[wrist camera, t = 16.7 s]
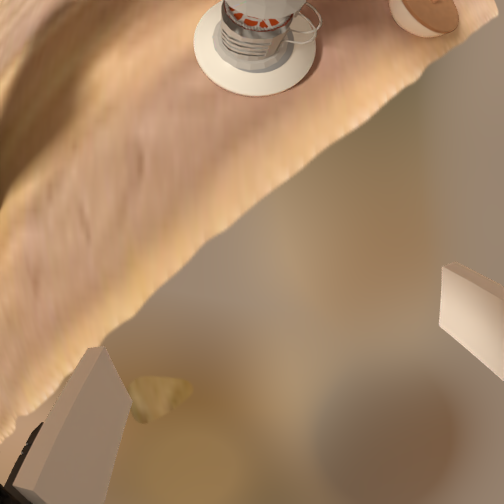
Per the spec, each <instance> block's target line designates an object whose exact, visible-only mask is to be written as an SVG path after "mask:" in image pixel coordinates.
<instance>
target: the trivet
mask: <svg viewBox="0 0 504 504" xmlns="http://www.w3.org/2000/svg"><path fill="white" fill-rule="evenodd" d="M223 1H224V0H222V1H220V2H218V3H217V4H215V5H214V6H212V7H211V8H210V9H209V10H208V11H207V12H206V13H205V14H204V15H203V17H202V18H201V19H200V21H199V23H198V25H197V27H196V30H195V34H194V51H195V55H196V59H197V62H198V64H199V66H200V68H201V69H202V71H203V72H204V74H205V75H206V76H207V77H208V78H209V79H210V80H211V81H212V82H213V83H214V84H216V85H217V86H219V87H220V88H222V89H224V90H226V91H228V92H231V93H234V94H237V95H241V96H247V97H267V96H272V95H276V94H279V93H282V92H284V91H286V90H288V89H290V88H291V87H293V86H294V85H296V84H297V83H298V82H299V81H300V80H301V79H302V78H303V77H304V76H305V75H306V74H307V72H308V71H309V69H310V68H311V66H312V63H313V61H314V58H315V53H316V41H315V39H314V40H313V41H312V42H310V43H306V44H295V43H291V42H288V44H287V49H286V52H285V54H284V55H283V56H282V57H281V58H280V60H279V61H278V62H277V63H275V64H273V65H271V66H269V67H267V68H264V69H257V70H246V69H241V68H236V67H234V66H232V65H231V64H229V63H227V62H225V61H224V60H222V58H221V57H220V56H219V54H218V53H217V52H216V50H215V48H214V43H213V38H212V36H213V33H214V30H215V26H216V25H217V23H218V22H219V21H220V20H221V6H222V3H223ZM295 13H296V12H295ZM295 13H294V15H295ZM299 13H300V12H299ZM300 14H301V13H300ZM288 29H292V30H296V31H302V32H308V31H312V28H311V26H310V24H309V22H308V21H307V20H306V19H304V18H303V17H302V16H300V15H298V16H297V17H296V18H294V16H293V20H292V22H291V24H290V26H289V28H288ZM287 36H288V40H291V41H296V42H305V41H309V40H310V39H311V38H312V37H313V36H314V33H308V34H306V33H297V32H292V31H289V32H288V33H287Z"/></svg>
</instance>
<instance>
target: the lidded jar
mask: <svg viewBox="0 0 504 504" xmlns="http://www.w3.org/2000/svg"><path fill="white" fill-rule="evenodd" d="M389 8H390V11H391V14H392V17H393V19H394V20H395V22H396V23H397V24H398V25H399V26H400V27H401V28H402V29H404V30H405V31H408V32H409V33H411V34H413V35H416V36H419V37H425V38H430V37H437V36H440V35H443V34H446V33H450V32H452V31H454V30H455V29H456V28H457V26H458V21H459V17H458V11H457V9H456V6H455V4H454V2H453V0H389Z"/></svg>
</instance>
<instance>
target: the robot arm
mask: <svg viewBox="0 0 504 504" xmlns="http://www.w3.org/2000/svg"><path fill="white" fill-rule="evenodd" d="M441 286H442V287H441V305H440V318H439V326H440V327H441V328H442V329H444V330H445V331H446V332H447V333H449V334H450V335H451V336H452V337H453V338H455V339H456V340H457V341H458V342H459V343H460V344H462V345H463V346H464V347H465V348H466V349H467V350H469V351H470V352H471V353H472V354H473V355H474V356H475V357H477V358H478V359H479V360H480V361H481V362H482V363H483V364H485V365H486V366H487V367H488V368H489V369H490V370H491V371H493V372H494V373H495V374H496V375H497V376H498V377H499V378H500V379H501V380H503V381H504V286H502V285H500V284H498V283H496V282H495V281H493V280H491V279H489V278H487V277H485V276H483V275H481V274H479V273H477V272H475V271H473V270H471V269H469V268H467V267H465V266H463V265H461V264H459V263H457V262H453V263H450V264H447V265H444V266H442V285H441ZM131 404H132V400H131V398H130V396H129V394H128V392H127V390H126V388H125V387H124V385H123V383H122V381H121V379H120V377H119V375H118V373H117V371H116V369H115V367H114V365H113V363H112V361H111V359H110V357H109V354H108V352H107V350H106V348H105V346H100V347H93V348H88V349H87V351H86V352H85V354H84V355H83V357H82V358H81V360H80V362H79V363H78V365H77V367H76V368H75V370H74V371H73V373H72V375H71V376H70V378H69V380H68V381H67V383H66V385H65V386H64V388H63V390H62V392H61V393H60V395H59V397H58V399H57V400H56V402H55V404H54V405H53V407H52V409H51V411H50V413H49V414H48V416H47V418H46V420H45V422H42V423H41V424H40V425H39V426H38V427H37V428H36V429H35V430H34V431H33V432H32V433H31V435H30V437H29V439H28V441H27V442H26V446H24V448H23V450H22V452H21V453H22V455H20V456H19V458H18V459H17V461H16V463H15V465H14V467H13V469H12V471H11V474H10V475H9V478H8V480H7V482H6V484H5V486H4V487H3V486H2V485H1V484H0V504H104V502H105V498H106V493H107V489H108V485H109V481H110V477H111V473H112V470H113V466H114V462H115V458H116V455H117V451H118V448H119V444H120V441H121V437H122V434H123V430H124V427H125V424H126V420H127V417H128V414H129V411H130V407H131Z"/></svg>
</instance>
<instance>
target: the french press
mask: <svg viewBox="0 0 504 504" xmlns="http://www.w3.org/2000/svg"><path fill="white" fill-rule="evenodd" d="M304 4H306V5H308V6H309V7H310V8H312V9H313V10H314V11H315V13H316V14H317V16H318V18H319V23H320V24H319V25H318V27H317V28H316V29H315V27H314V25H313V24H312V22H311V21H310V20H309V19H308V18H307V17H305V16H304V15H303V14H300V13H299V12H300V10H301V8H302V6H303V5H304ZM295 12H296V13H295ZM294 13H295V15H294ZM298 15H300V16H302V17H303V18H304V19H306V20H307V21H308V22H309V23H310V25H311V26H312V27H313V30H312V31H308V32H302V31H296V30H292V29H288V28H289V26H290V24H291V22H292V20H293V16H294V18H296V17H297V16H298ZM321 26H322V19H321V15H320V14H319V13H318V11H317V10H316V9H315V8H314V7H313V6H312V5H310V4H309V3H307V2H306V0H224V1H223V3H222V6H221V20H220V21H219V22H218V23H217V25H216V26H215V30H214V33H213V36H212V38H213V43H214V48H215V50H216V52H217V53H218V54H219V56H220V57H221V58H222V60H224V61H225V62H227V63H229V64H231V65H232V66H234V67H236V68H241V69H246V70H257V69H264V68H267V67H269V66H271V65H273V64H275V63H277V62H278V61H279V60H280V58H281V57H282V56H283V55H284V54H285V52H286V49H287V44H288V42H291V43H295V44H306V43H310V42H312V41H313V40H314V39H315V38H316V36H317V32H316V31H317V30H318V29H319V28H320V27H321ZM289 31H292V32H297V33H306V34H308V33H313V32H314V36H313V37H312V38H311V39H310V40H309V41H305V42H296V41H291V40H288V36H287V33H288V32H289Z"/></svg>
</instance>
